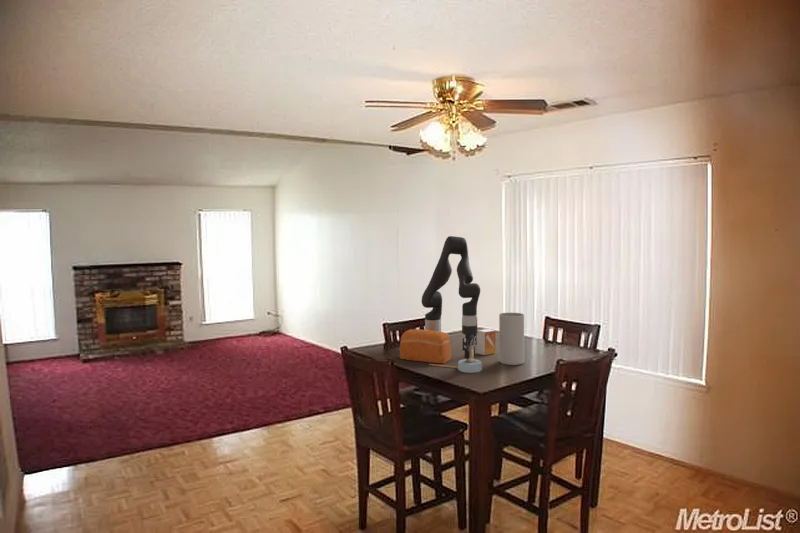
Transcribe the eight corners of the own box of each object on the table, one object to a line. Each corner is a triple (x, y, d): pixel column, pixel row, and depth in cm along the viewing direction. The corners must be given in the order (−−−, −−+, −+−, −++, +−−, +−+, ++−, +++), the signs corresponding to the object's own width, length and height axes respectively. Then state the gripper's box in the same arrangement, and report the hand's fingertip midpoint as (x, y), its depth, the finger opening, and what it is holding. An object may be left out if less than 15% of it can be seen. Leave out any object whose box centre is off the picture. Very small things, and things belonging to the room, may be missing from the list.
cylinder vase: (527, 365, 277) (527, 316, 275) (503, 365, 276) (502, 316, 274) (520, 359, 289) (520, 312, 288) (496, 359, 288) (496, 312, 287)
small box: (484, 355, 298) (484, 332, 297) (477, 353, 304) (477, 330, 303) (495, 353, 303) (495, 330, 302) (488, 351, 308) (487, 328, 307)
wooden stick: (428, 365, 279) (428, 363, 279) (429, 365, 280) (429, 363, 280) (459, 368, 272) (459, 367, 272) (460, 368, 272) (460, 366, 272)
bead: (455, 371, 267) (455, 363, 267) (463, 365, 277) (463, 358, 277) (477, 373, 263) (476, 365, 262) (484, 368, 272) (484, 360, 272)
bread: (442, 365, 280) (442, 334, 279) (397, 359, 293) (397, 330, 292) (453, 359, 292) (452, 329, 291) (409, 354, 305) (409, 326, 304)
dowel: (465, 370, 269) (465, 346, 268) (467, 368, 272) (467, 344, 271) (472, 370, 267) (472, 346, 267) (474, 369, 271) (474, 345, 270)
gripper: (467, 321, 276) (467, 352, 277) (457, 325, 263) (457, 359, 265) (481, 322, 273) (481, 354, 274) (472, 326, 260) (472, 360, 261)
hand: (469, 356), depth 269 cm, fingers open, 8 cm apart
